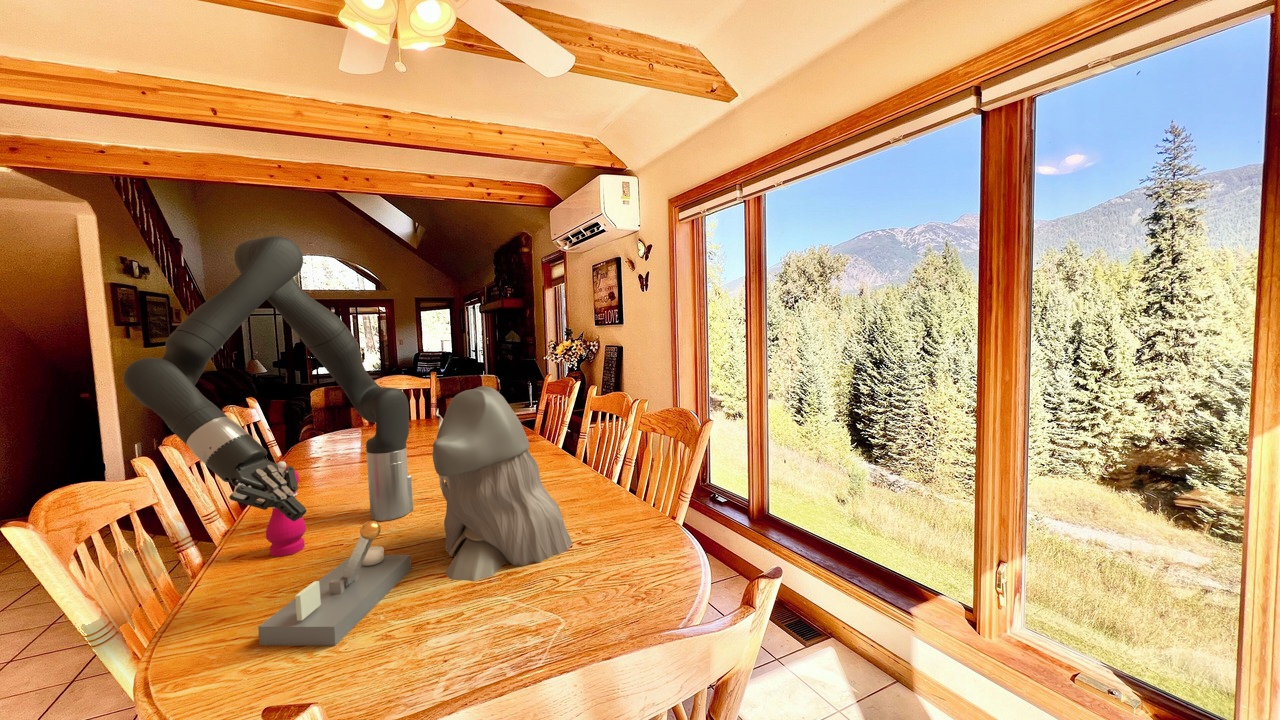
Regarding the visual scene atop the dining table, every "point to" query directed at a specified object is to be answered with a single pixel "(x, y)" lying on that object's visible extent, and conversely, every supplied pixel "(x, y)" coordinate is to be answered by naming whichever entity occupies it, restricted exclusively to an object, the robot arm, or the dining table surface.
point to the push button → (374, 556)
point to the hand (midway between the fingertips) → (300, 516)
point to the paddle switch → (307, 600)
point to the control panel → (336, 605)
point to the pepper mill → (285, 530)
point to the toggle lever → (360, 550)
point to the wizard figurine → (492, 489)
